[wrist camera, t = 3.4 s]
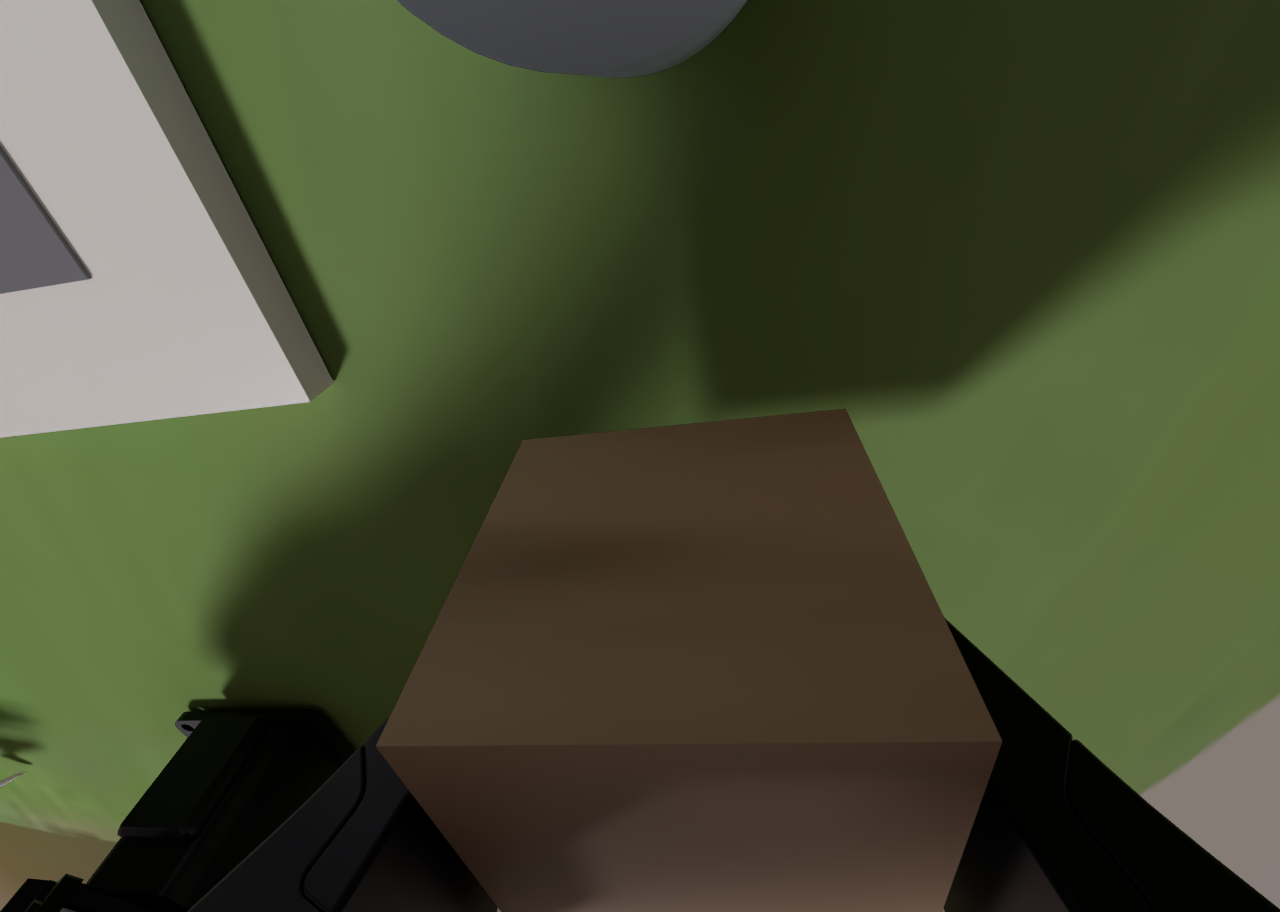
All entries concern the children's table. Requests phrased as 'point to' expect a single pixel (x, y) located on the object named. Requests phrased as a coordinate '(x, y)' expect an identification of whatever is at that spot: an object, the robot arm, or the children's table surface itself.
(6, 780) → the spiky ball
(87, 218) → the board
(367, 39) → the children's table surface
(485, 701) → the walnut cube
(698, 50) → the blue cylinder
